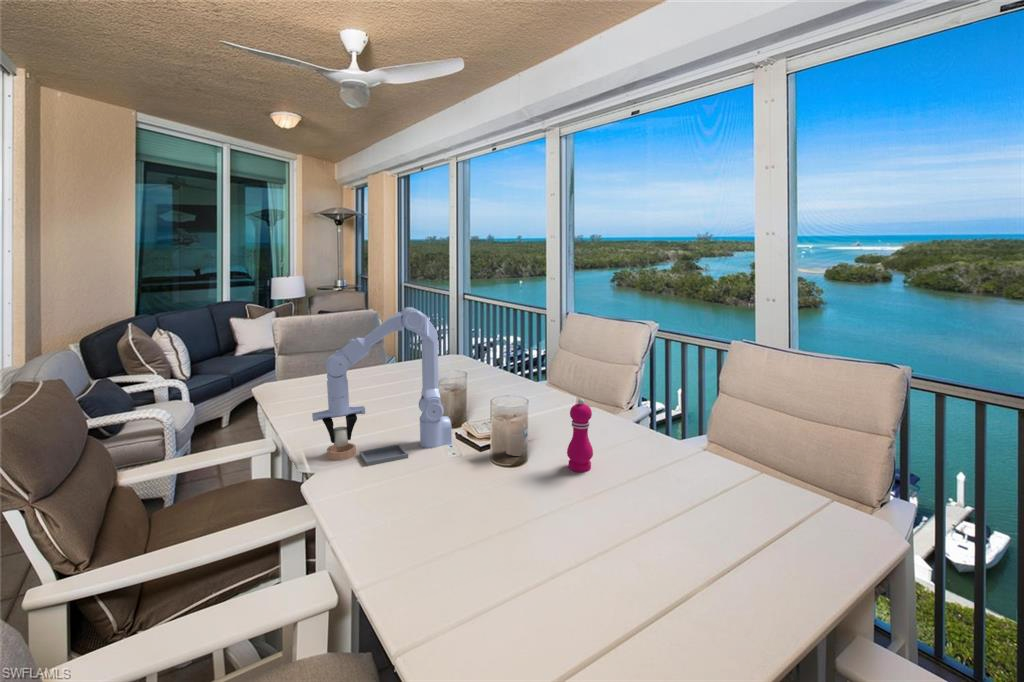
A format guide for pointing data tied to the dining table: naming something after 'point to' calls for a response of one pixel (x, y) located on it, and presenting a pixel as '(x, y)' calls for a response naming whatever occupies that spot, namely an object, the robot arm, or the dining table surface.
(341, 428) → the pale grey rounded cylinder
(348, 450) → the bowl
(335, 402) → the robot arm
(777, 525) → the dining table surface
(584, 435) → the pepper mill
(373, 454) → the parts tray
